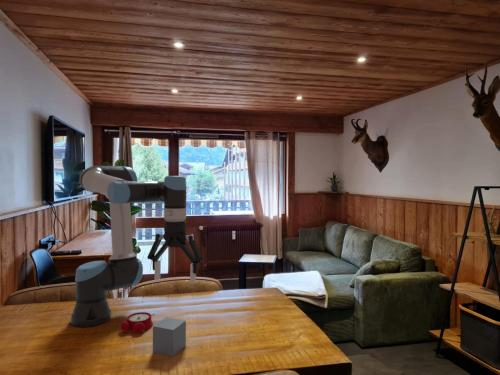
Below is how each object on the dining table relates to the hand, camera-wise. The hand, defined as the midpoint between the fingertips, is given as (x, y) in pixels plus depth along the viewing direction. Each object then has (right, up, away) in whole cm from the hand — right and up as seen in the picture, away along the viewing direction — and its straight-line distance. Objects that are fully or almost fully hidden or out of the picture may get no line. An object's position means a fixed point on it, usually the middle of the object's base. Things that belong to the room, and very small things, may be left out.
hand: (174, 281), depth 117 cm
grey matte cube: (-1, -23, -2) cm, 23 cm away
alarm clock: (-18, -23, +15) cm, 33 cm away
